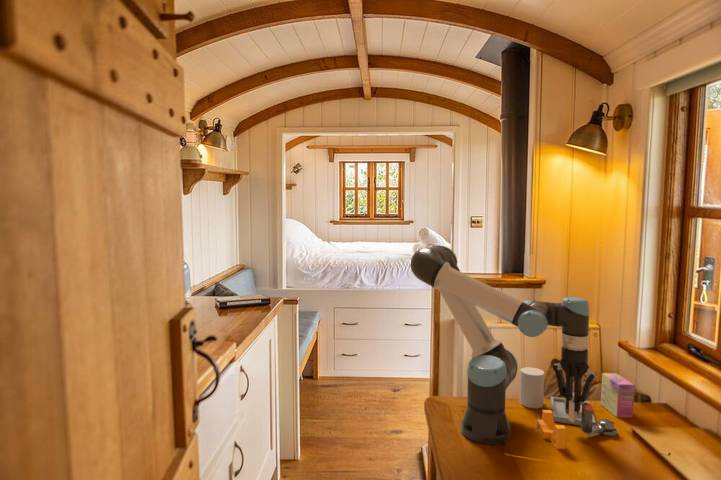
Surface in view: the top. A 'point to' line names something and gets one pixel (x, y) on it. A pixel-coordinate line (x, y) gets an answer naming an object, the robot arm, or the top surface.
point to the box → (617, 395)
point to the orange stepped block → (551, 430)
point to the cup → (531, 387)
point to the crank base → (609, 433)
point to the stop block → (566, 408)
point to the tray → (561, 415)
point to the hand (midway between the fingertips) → (572, 420)
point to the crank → (587, 422)
